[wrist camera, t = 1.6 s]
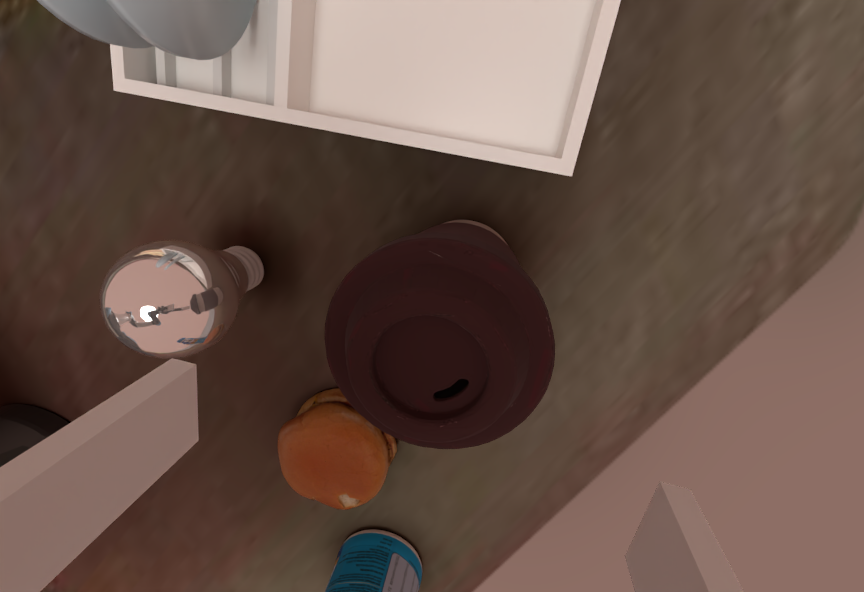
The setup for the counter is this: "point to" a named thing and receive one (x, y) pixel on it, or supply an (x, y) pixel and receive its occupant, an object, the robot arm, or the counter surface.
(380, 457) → the burger
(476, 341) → the coffee cup
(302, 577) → the counter surface
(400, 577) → the beverage bottle
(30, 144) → the counter surface
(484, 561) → the counter surface
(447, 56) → the white tray
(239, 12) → the plates
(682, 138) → the counter surface
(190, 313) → the light bulb
